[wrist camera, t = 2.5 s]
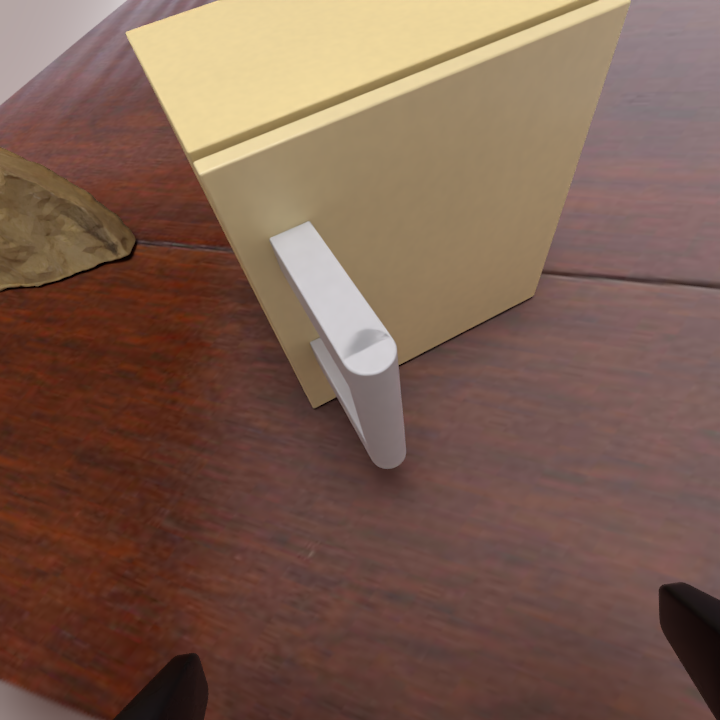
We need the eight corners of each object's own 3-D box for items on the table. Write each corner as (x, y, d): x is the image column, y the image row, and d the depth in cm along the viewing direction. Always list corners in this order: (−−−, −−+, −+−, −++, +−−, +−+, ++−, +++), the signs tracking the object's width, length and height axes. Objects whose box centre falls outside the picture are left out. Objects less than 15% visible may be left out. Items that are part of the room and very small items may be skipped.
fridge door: (614, 374, 24) (839, 74, 11) (366, 514, 22) (284, 340, 9) (526, 288, 28) (614, -8, 15) (308, 399, 26) (191, 161, 13)
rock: (154, 196, 35) (54, 166, 37) (60, 159, 27) (-63, 122, 28) (126, 324, 37) (33, 289, 38) (30, 326, 28) (-84, 282, 30)
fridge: (523, 287, 28) (611, -15, 15) (307, 396, 26) (186, 152, 13) (432, 199, 34) (439, -76, 21) (249, 282, 32) (124, 31, 18)
